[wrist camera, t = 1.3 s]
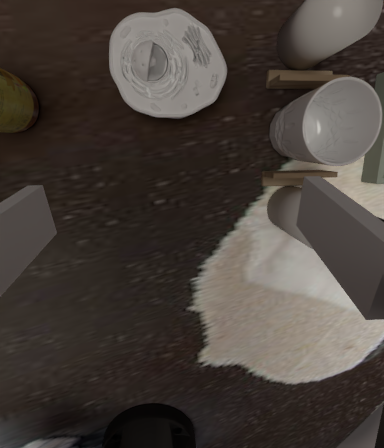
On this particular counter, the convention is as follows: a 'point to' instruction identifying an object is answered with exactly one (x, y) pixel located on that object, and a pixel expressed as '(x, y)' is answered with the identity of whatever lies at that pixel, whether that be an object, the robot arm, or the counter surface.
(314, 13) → the white pillar candle
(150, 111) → the cell model
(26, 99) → the sauce bottle
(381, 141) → the tray
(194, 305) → the counter surface
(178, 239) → the counter surface
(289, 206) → the grey tapered cylinder
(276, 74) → the rack
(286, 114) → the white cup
